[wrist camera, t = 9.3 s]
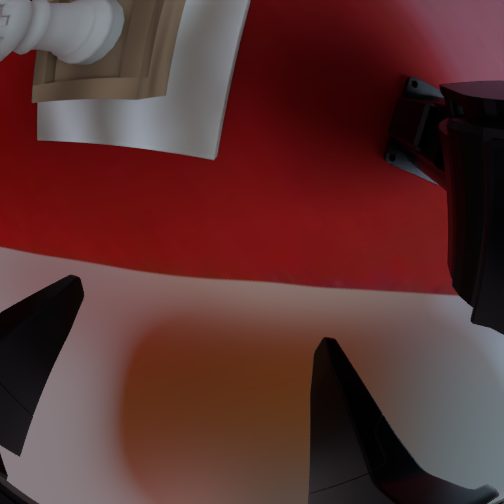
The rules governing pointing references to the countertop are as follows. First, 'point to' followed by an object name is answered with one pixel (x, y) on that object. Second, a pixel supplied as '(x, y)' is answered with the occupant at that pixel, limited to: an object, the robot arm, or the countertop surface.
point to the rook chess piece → (61, 28)
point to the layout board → (147, 80)
